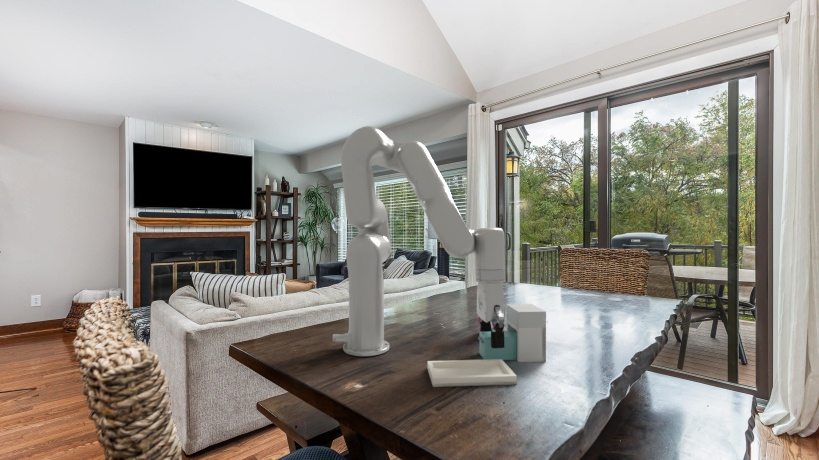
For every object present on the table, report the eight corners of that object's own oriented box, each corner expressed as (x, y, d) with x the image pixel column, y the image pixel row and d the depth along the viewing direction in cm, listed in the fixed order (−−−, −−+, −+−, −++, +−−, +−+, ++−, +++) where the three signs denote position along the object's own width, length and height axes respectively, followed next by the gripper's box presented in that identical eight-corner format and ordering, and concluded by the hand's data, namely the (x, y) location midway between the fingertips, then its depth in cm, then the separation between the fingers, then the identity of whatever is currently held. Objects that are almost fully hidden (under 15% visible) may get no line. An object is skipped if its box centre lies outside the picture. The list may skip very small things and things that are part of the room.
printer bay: (518, 362, 92) (518, 311, 92) (506, 350, 101) (506, 304, 101) (545, 361, 92) (546, 311, 92) (531, 349, 101) (531, 303, 101)
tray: (432, 386, 78) (432, 378, 78) (427, 368, 88) (427, 361, 88) (516, 384, 79) (516, 375, 79) (501, 366, 89) (501, 359, 89)
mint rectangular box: (482, 361, 93) (482, 335, 93) (477, 354, 98) (477, 329, 98) (534, 359, 94) (534, 333, 94) (527, 353, 99) (527, 328, 99)
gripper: (468, 272, 104) (469, 333, 104) (485, 280, 87) (487, 353, 87) (494, 271, 105) (496, 331, 105) (516, 279, 87) (518, 352, 87)
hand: (491, 341), depth 96 cm, fingers open, 9 cm apart
